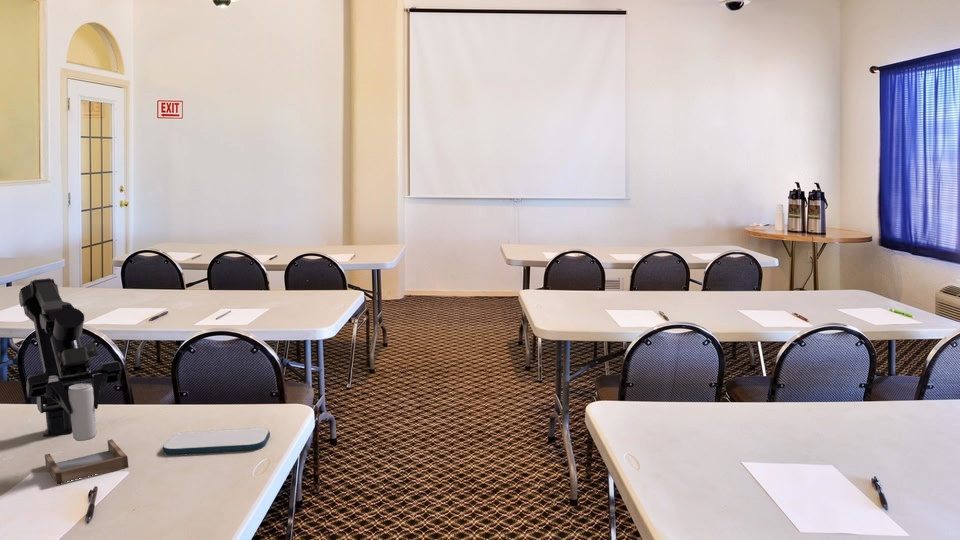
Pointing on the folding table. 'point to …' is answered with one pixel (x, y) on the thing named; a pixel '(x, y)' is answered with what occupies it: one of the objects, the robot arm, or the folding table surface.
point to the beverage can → (82, 411)
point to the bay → (87, 464)
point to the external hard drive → (216, 441)
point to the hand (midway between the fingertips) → (83, 410)
